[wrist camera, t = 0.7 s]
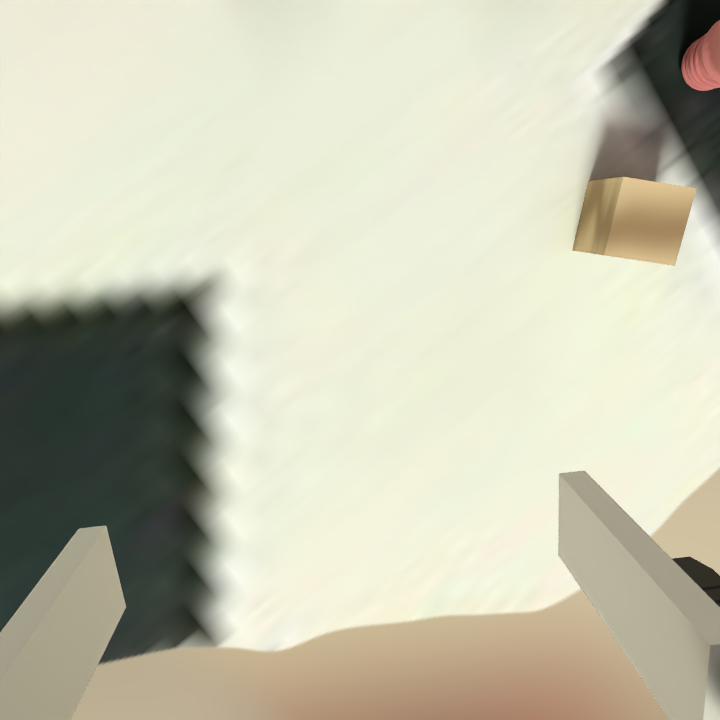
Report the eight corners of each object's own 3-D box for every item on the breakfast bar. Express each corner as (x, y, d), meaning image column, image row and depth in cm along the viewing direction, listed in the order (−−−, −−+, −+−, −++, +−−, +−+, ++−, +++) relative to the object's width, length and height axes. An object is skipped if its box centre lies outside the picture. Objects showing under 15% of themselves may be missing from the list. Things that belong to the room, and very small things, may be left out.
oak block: (588, 180, 41) (623, 176, 36) (652, 191, 41) (696, 188, 36) (572, 250, 42) (604, 255, 37) (635, 259, 42) (674, 265, 37)
